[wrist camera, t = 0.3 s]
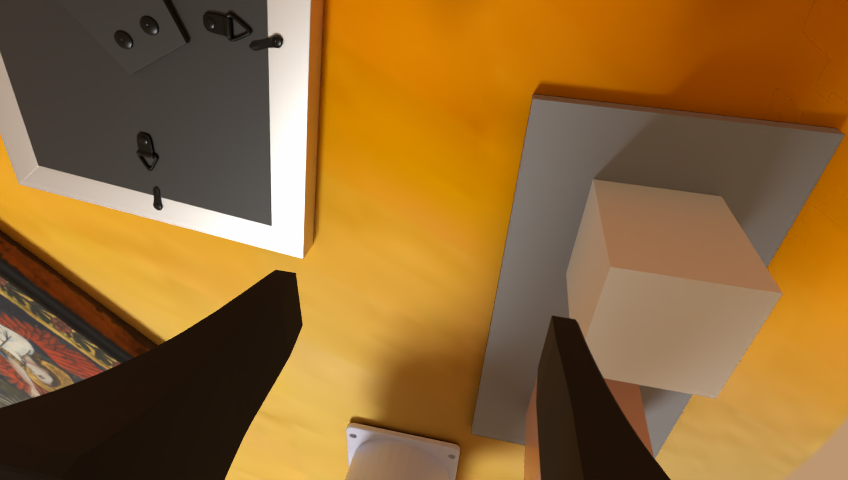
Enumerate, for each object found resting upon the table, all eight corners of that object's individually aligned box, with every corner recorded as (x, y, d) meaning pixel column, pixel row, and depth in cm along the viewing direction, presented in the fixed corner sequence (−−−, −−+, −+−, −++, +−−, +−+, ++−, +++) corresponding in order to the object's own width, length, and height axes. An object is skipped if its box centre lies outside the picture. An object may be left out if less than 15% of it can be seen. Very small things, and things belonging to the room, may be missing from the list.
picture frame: (-137, -421, 15) (51, 167, 27) (-258, -480, 13) (6, 191, 25) (347, -329, 14) (318, 236, 26) (311, -375, 12) (297, 268, 24)
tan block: (677, 291, 22) (716, 398, 17) (566, 273, 23) (573, 372, 18) (721, 196, 19) (783, 293, 14) (592, 179, 20) (610, 266, 15)
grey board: (646, 461, 30) (647, 471, 30) (471, 426, 32) (470, 434, 31) (836, 128, 18) (845, 134, 17) (533, 93, 19) (532, 98, 19)
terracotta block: (611, 432, 28) (625, 540, 24) (525, 415, 29) (522, 517, 24) (637, 376, 26) (659, 486, 21) (541, 359, 26) (542, 462, 21)
